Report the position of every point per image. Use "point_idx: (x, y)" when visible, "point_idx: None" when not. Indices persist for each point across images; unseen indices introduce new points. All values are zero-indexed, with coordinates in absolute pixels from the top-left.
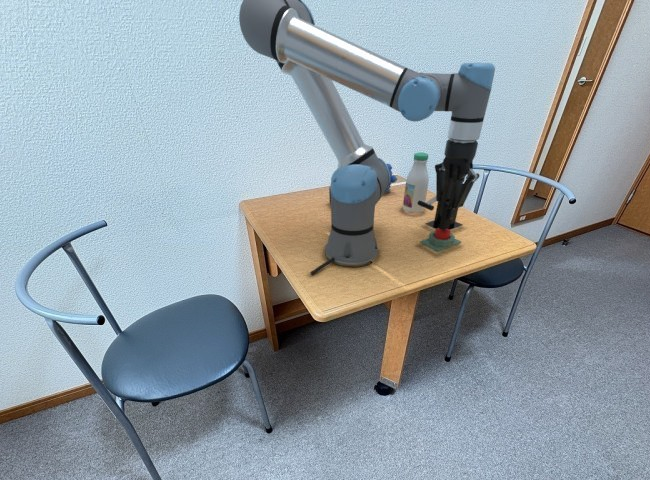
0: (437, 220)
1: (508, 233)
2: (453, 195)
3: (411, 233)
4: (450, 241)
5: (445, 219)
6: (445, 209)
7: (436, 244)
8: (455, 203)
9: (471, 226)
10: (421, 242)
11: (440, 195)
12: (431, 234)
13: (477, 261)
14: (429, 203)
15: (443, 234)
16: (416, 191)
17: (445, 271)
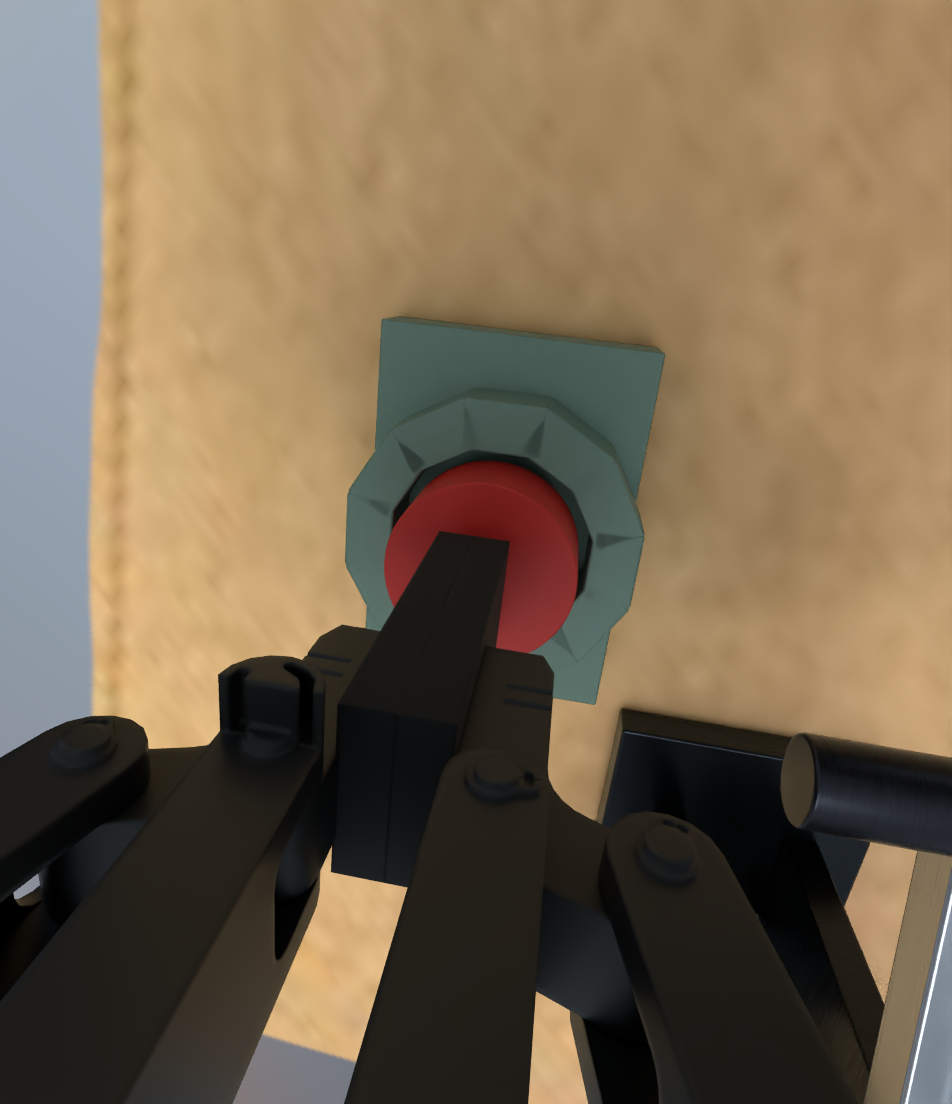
0: (791, 876)
1: (294, 1035)
2: (29, 998)
3: (912, 535)
4: (347, 511)
5: (400, 603)
6: (391, 690)
7: (455, 396)
8: (53, 794)
9: (541, 996)
10: (642, 350)
11: (634, 976)
12: (595, 488)
13: (126, 518)
14: (942, 881)
15: (416, 500)
16: None
17: (140, 106)
